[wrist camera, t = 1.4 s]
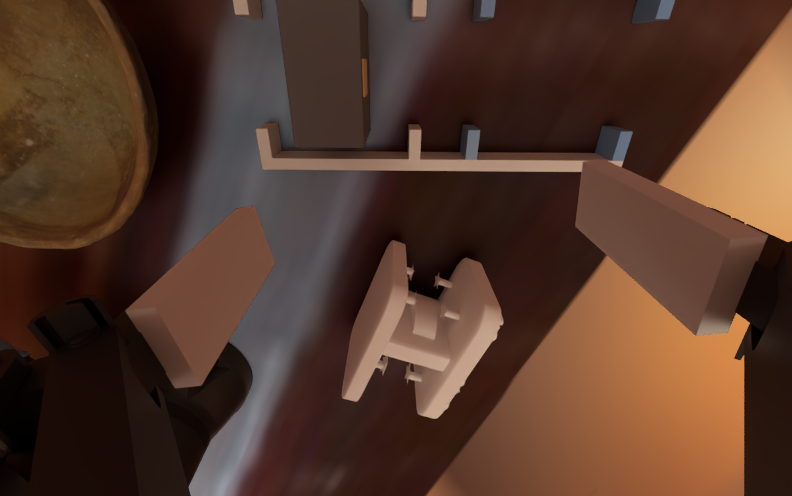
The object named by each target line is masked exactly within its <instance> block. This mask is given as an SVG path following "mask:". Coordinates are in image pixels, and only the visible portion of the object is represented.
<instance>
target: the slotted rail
mask: <svg viewBox="0 0 792 496" xmlns="http://www.w3.org/2000/svg"><path fill="white" fill-rule="evenodd" d="M674 2H675V0H637V3H636V7H635V10H634V14H633V17H632V21H631V23H648V22H654V21H660V20H666V19H669V17H670V14H671V11H672V8H673V5H674ZM495 3H496V0H474V7H473V18H472V22H485V21H487V20H489V19H491V18H493V17H494V11H495ZM233 4H234V10H235V15H238V16H242V17H245V18H248V19H263V17H262V10H261V4H260V0H233ZM426 5H427V0H411V21H423V20H424V19H425V17H426ZM632 133H633V131H629V130H626V129H622V128H619V127H615V126H602V129H601V132H600V136H599V140H598V143H597V147H596V150H595V153H512V152H478V145H479V137H480V130H479V129H478V128H477V127H475V126H474V125H462V134H461V144H460V152H420V150H421V128H420V125H419V124H408V152H380V151H282V147H281V141H280V134H279V127H278V123H266V124H264V125H262V126H260V127H258V128H256V134H257V140H258V146H259V151H260V157H261V163H262V168H263V170H393V171H532V172H582V165H583V162H585V161H592V160H600V159H604V160H607V161H609V162H611V163H613V164H615V165H617V166H620V167H622V164H623V161H624V158H625V154H626V151H627V148H628V145H629V142H630V139H631V136H632Z"/></svg>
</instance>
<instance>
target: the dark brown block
mask: <svg viewBox="0 0 792 496" xmlns="http://www.w3.org/2000/svg"><path fill="white" fill-rule="evenodd" d="M276 4H277V12H278V19H279V27H280V35H281V43H282V51H283V58H284V66H285V74H286V82H287V90H288V97H289V105H290V113H291V121H292V129H293V136H294V144H295V148H364V146H365V143H366V141H367V138H368V135H369V132H370V130H371V129H370V89H369V50H368V13H367V11H366V9H365V7H364V5H363V4H362V2H361V0H276Z"/></svg>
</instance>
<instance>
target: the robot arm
mask: <svg viewBox="0 0 792 496" xmlns="http://www.w3.org/2000/svg"><path fill="white" fill-rule="evenodd" d="M575 226H576V227H577V228H578V229H579V230H580V231H581V232H582V233H583V234H584V235H585V236H587V237H588V238H589V239H590V240H591V241H592V242H593V243H594V244H595V245H596V246H598V247H599V248H600V249H601V250H602V251H603V252H604V253H605V254H606V255H607V256H609V257H610V258H611V259H612V260H613V261H614V262H615V263H616V264H617V265H618V266H620V267H621V268H622V269H623V270H624V271H625V272H626V273H627V274H628V275H629V276H631V277H632V278H633V279H634V280H635V281H636V282H637V283H638V284H639V285H641V286H642V287H643V288H644V289H645V290H646V291H647V292H648V293H650V294H651V295H652V296H653V297H654V298H655V299H656V300H657V301H658V302H659V303H660V304H661V305H663V306H664V307H665V308H666V309H667V310H668V311H669V312H670V313H672V315H674V316H675V317H676V318H677V319H678V320H679V321H680V322H681V323H682V324H684V325H685V326H686V327H687V328H688V329H689V330H690V331H691V332H692V333H693V334H694V335H696V336H699V335H709V334H719V333H727V332H728V331H729V328H730V326H731V324H732V321H733V319H734V316H735V314H736V313H737V314H739V315H740V316H742V317H743V318H744V319H746V320H747V321H748V322H750V325H749V327H748V329H747V331H746V333H745V335H744V338H743V340H742V342H741V344H740V347H739V349H738V351H737V353H736V356H735V359H738V360H741V358H742V357H743V355H744V357H745V358H744V364H745V365H744V367H745V369H744V370H745V372H744V382H745V383H744V392H745V393H744V396H745V397H744V398H745V399H744V401H745V402H744V410H745V411H744V415H745V416H744V431H745V432H744V433H745V435H744V441H745V442H744V446H745V447H744V456H745V457H744V496H792V241H791V242H786V241H784V240H781V239H779V238H777V237H775V236H773V235H770V234H768V233H766V232H764V231H762V230H759V229H757V228H755V227H753V226H751V225H748V224H746V225H745V224H744V222H742V221H740V220H738V219H735V218H731V216H729V215H727V214H725V213H722V212H720V211H718V210H716V209H713V208H709V207H706V206H704V205H702V204H699V203H697V202H695V201H693V200H691V199H689V198H687V197H684V196H682V195H680V194H678V193H676V192H674V191H672V190H669V189H667V188H665V187H663V186H661V185H659V184H656V183H654V182H652V181H650V180H648V179H646V178H643V177H641V176H639V175H637V174H635V173H633V172H630V171H628V170H626V169H624V168H622V167H620V166H617V165H615V164H613V163H611V162H609V161H607V160H604V159H600V160H592V161H585V162H583V165H582V174H581V182H580V190H579V199H578V207H577V216H576V224H575ZM274 264H275V262H274V259H273V256H272V253H271V250H270V248H269V245H268V242H267V239H266V236H265V233H264V231H263V228H262V225H261V222H260V219H259V217H258V214H257V211H256V208H255V206H250V207H243V208H237V209H235V210H234V211H233V212H232V213H231V214H230V215H229V216H228V217H227V218H226V219H225V220H223V221H222V222H221V223H220V224H219V225H218V226H217V227H216V228H215V229H214V230H213V231H211V232H210V233H209V234H208V235H207V236H206V237H205V238H204V239H203V240H202V241H201V242H199V243H198V244H197V245H196V246H195V247H194V248H193V249H192V250H191V251H190V252H189V253H187V254H186V255H185V256H184V257H183V258H182V259H181V260H180V261H179V262H178V263H177V264H175V265H174V266H173V267H172V268H171V269H170V270H169V271H168V272H167V273H166V274H165V275H163V276H162V277H161V278H159V279H158V280H157V281H156V282H155V283H154V284H153V285H151V286H150V287H149V288H148V290H146V291H145V292H144V293H143V294H142V295H140V297H139V298H137V299H136V300H135V301H134V302H133V303H132V304H131V305H130V306H128V307H127V308H126V309H125V310H124V311H123V312H122V313H121V314H120V315H119V316H117V317H116V318H115V319H114V320H113V319H112V318H111V316H110V315H109V313H108V312H107V310H106V309H105V307H104V306H103V305H102V303H101V302H100V300H99V299H98V297H97V296H96V295H84V296H78V297H75V298H72V299H69V300H66V301H63V302H61V303H59V304H57V305H54V306H52V307H50V308H49V309H47V310H45V311H43V312H42V313H40V314H39V315H37V316H36V317H35V318H34V319H32V320H31V321H30V323H29V324H28V326H27V327H28V328H29V329H30V331H31V332H32V333H33V334H34V335H35V336H36V338H37V339H38V340H39V341H40V342H41V344H42V345H43V346H44V347H45V348H46V350H47V351H48V352H49V353H50V354H49V356H47V357H43V358H40V359H37V360H34V359H32V358H31V357H30V353H29V352H27V351H20V350H19V349H17V348H15V347H14V346H12V345H10V344H9V343H7V342H5V341H3V340H2V339H0V496H191V495H190V492H189V488H188V487H189V485H190V483H191V480H192V478H193V476H194V474H195V472H196V470H197V468H198V466H199V464H200V462H201V460H202V457H203V455H204V453H205V451H206V449H207V447H208V445H209V443H210V441H211V440H212V438H213V437H214V436H215V435H216V434H217V433H218V432H219V431H220V430H221V428H222V427H223V426H224V425H225V424H226V423H227V422H228V421H229V419H230V418H231V417H232V416H233V415H234V414H235V413H236V412H237V411H238V410H239V409H240V408H241V406H242V405H243V403H244V401H245V399H246V397H247V395H248V393H249V390H250V388H251V385H252V373H251V369H250V367H249V365H248V363H247V361H246V360H245V358H244V357H243V356H242V355H241V354H240V353H239V352H238V351H237V350H236V349H235V348H234V347H232V346H231V345H230V344H228V343H227V342H228V341H229V339H230V337H231V336H232V334H233V332H234V331H235V329H236V327H237V326H238V324H239V322H240V321H241V319H242V317H243V316H244V314H245V312H246V311H247V309H248V307H249V306H250V304H251V302H252V301H253V299H254V297H255V296H256V294H257V292H258V291H259V289H260V287H261V286H262V284H263V282H264V281H265V279H266V277H267V276H268V274H269V272H270V271H271V269H272V267H273V266H274Z"/></svg>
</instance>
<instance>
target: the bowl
mask: <svg viewBox="0 0 792 496" xmlns="http://www.w3.org/2000/svg"><path fill="white" fill-rule="evenodd" d="M158 131H159V123H158V114H157V107H156V102H155V98H154V94H153V91H152V87H151V84H150V81H149V78H148V75H147V72H146V69H145V66H144V64H143V61H142V58H141V56H140V54H139V51H138V49H137V46H136V44H135V41H134V40H133V38H132V36H131V35H130V33H129V31H128V29H127V28H126V26H125V24H124V23H123V21H122V20H121V18H120V17H119V15H118V14H117V12H116V11H115V9H114V8H113V7H112V5H111V4H110V2H109V1H108V0H0V242H4V243H7V244H11V245H15V246H19V247H25V248H43V249H76V248H81V247H85V246H88V245H91V244H93V243H95V242H97V241H99V240H101V239H103V238H105V237H107V236H109V235H112V234H113V233H114V232H116V231H117V230H119V229H120V228H121V227H122V226H123V224H124V223H125V222H126V221H127V220H128V219H129V218H130V217H131V215H132V214H133V213H134V211H135V209H136V207H137V206H139V204H140V202H141V201H142V198H143V195H144V192H145V190H146V188H147V186H148V184H149V181H150V178H151V175H152V171H153V167H154V164H155V160H156V156H157V151H158Z"/></svg>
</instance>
